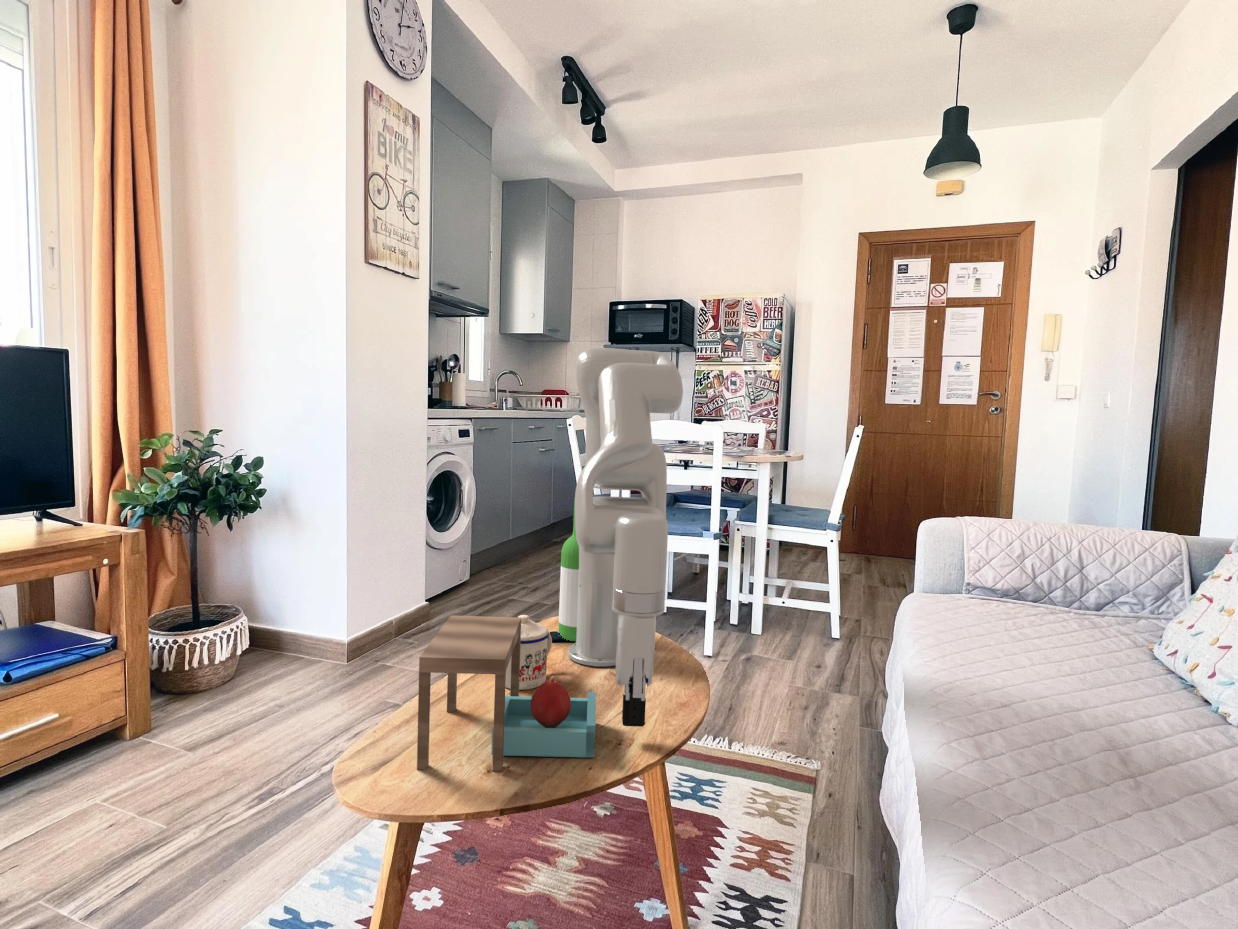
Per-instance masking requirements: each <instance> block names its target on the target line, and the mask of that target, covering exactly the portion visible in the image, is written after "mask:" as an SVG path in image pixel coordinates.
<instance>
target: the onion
mask: <svg viewBox="0 0 1238 929" xmlns="http://www.w3.org/2000/svg"><path fill="white" fill-rule="evenodd" d="M531 697H532V699H531V712H532V715H533V717H534V718H535V720H536V721H537V722H538V723H539V724H541V725H542V726H544V727H545V728H556V727H557V726H558V725H559V724H561V723H562V722H563V721H564V720H565V719H566V718H567V716H568V715H569V713H570V709H571V699H570V698H571V696H570V693H569V692H568V690H567V689H566V687H564V685H562V684H561V683H560V682H558V681H557V679H556V676H554V675H553V676H550V677H549V678H548V679H546V680H545V682H544V683H543V684H541V685H540V686H538V687H536V689H535V692H534V693H533V695H532V696H531Z"/></svg>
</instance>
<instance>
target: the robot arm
mask: <svg viewBox="0 0 1238 929" xmlns="http://www.w3.org/2000/svg"><path fill="white" fill-rule="evenodd" d="M575 365H576V366H575V378H576V386H577V391H578V394H579V397H580V401H581V403H582V407H583V410H584V415H585V451H584V453H585V454H584V456H585V458H584V459H585V462H584V464H585V465H584V467H583V468H582V471H581V472H580V474H579V476H578V479H577V481H576V482H577V483H576V487H575V491H574V492H575V494H574V500H575V531H576V539H577V543H578V545H579V580H578V607H577V633H576V641H575V642H574V643H573V644H571V645H570V646H569V647H568V649H567V655H568V658H569V659H570V660H571V661H573V662H574V663H577V664H581V665H583V666H584V665H585V666H589V667H602V668H603V667H604V668H605V667H608V668H609V667H615V675H616V676H615V677H616V683H617V684H618V685H619V686H620V687H622V686H623V685H624V694H622V696H623V697H622V713H621V719H622V720H621V721H622V722H621V723H622V726H623V727H640V728H641V727H644V726H645V725H646V724H645V723H646V721H645V720H646V702H647V700H646V699H647V698H646V686H647V687H650V686H651V685H652V684H653V676H654V675H653V674H654V665H655V664H654V662H655V652H656V651H655V648H656V647H655V646H656V630H657V629H656V627H657V624H656V622H657V617H658V616H661V615H663V614H664V613H665V605H666V604H665V601H666V583H667V582H666V581H667V580H666V579H667V560H668V558H667V557H668V539H669V538H668V537H669V535H668V534H669V527H668V526H669V525H668V520H667V478H668V477H667V475H668V472H667V459H666V455H665V452H664V450H663V448H662V447H661V446H660V445H658V444H656V443H653V437H652V436H653V435H652V426H651V425H652V424H651V423H652V422H651V416H650V415H651V414H666V415H667V414H674V413H676V412H677V411H678V410H679V409H680V407H681V405H682V401H683V395H684V387H683V386H684V385H683V381H682V377H681V374H680V371H679V369H678V368H677V366H676V364H675V363H674V362H673V361H672V360H671V358H670V357H669V356H668V355H667V354H665V353H664V352H661V351H654V350H641V349H639V350H637V349H628V348H627V349H625V348H612V347H610V348H609V347H598V348H589V349H585V350H583V351H582V352H581V353H579V355H578V357H577V359H576V364H575ZM594 489H600V490H608V491H609V490H611V491H612V490H613V491H637V492H640V493H641V497H636V496H635V497H634V496H633V497H630V496H628V497H627V496H626V497H625V496H594Z"/></svg>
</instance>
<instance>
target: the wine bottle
mask: <svg viewBox="0 0 1238 929" xmlns="http://www.w3.org/2000/svg"><path fill="white" fill-rule="evenodd" d="M573 504H574V505H573V524H572V525H573V527H572V535H571V536H570V537H568V538H567V539H566V540H565V541H564V543H563V545H562V547H561V552H560V553H561V554H560V556H561V557H560V558H561V559H560V576H559V603H558V604H559V605H558V607H559V608H558V634H559V633H560V635H561V636H562V639H563V638H564V639H563V640H565V639H566V640H565V641H568V640H569V641H570V642H576V633H577V607H578V580H579V545H578V543H577V539H576V531H575V499H574V502H573ZM560 635H559V636H560ZM561 636H560V637H561Z"/></svg>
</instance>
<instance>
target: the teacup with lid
mask: <svg viewBox="0 0 1238 929" xmlns="http://www.w3.org/2000/svg"><path fill="white" fill-rule="evenodd" d="M517 617H518V618H521V643H520V674H519V691H521V690H522V691H525V690H531V689H532V690H533V689H535V688H536V689H537V688H538V687H539V686H540V685H541V684H543V683H544V682H546V681H547V666H548V664H547V663H548V662H547V658H548V656H549V654H550V652H551V649H552V644H553V639H552V636H551V634H550V632H549V630H548V628H547V627H546V626H544V625H543V624H540V623H537V622H535V621H533V620H531V619H530V616H529V615H527V614H521V615H518V616H517ZM511 657H512V656H511ZM505 689H509V690H510V689H511V658H510V661H509V664H508V667H507V669H506V683H505Z"/></svg>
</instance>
